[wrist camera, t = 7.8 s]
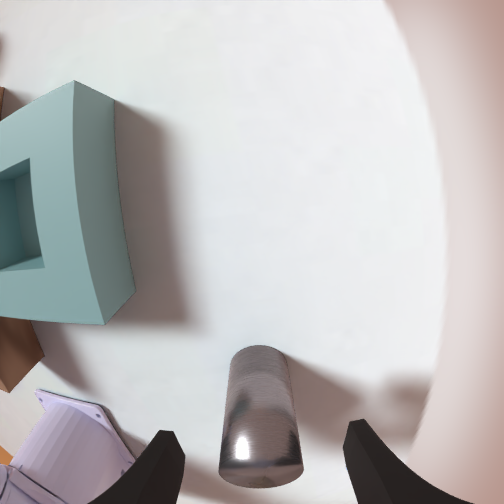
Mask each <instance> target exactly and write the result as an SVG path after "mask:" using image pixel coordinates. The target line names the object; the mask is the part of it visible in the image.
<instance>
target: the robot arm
mask: <svg viewBox="0 0 504 504" xmlns="http://www.w3.org/2000/svg"><path fill="white" fill-rule="evenodd" d="M34 393H35V395H36V397H37V398H38V400H39V402H40V403H41V405H42V406H43V408H44V409H45V413H44V414H43V415H42V417H41V418H40V419H39V421H38V422H37V424H36V425H35V426H34V428H33V429H32V431H31V432H30V434H29V435H28V436H27V438H26V439H25V441H24V442H23V444H22V445H21V447H20V448H19V450H18V451H17V453H16V454H15V456H14V457H13V459H12V461H11V462H10V464H9V465H8V466H6V465H3V464H2V465H1V464H0V504H176V502H177V498H178V494H179V490H180V486H181V482H182V478H183V473H184V464H185V454H184V452H183V450H182V448H181V446H180V444H179V442H178V440H177V438H176V436H175V434H174V432H173V431H165V430H159V431H158V432H157V434H156V435H155V437H154V438H153V439H152V441H151V442H150V443H149V445H148V446H147V447H146V449H145V450H144V451H143V453H142V454H141V455H140V456H139V457H138V459H137V460H135V459H134V457H133V456H132V455H131V453H130V452H129V450H128V449H127V448H126V446H125V445H124V443H123V442H122V440H121V439H120V437H119V436H118V434H117V432H116V431H115V429H114V428H113V426H112V424H111V423H110V421H109V420H108V418H107V416H106V414H105V413H104V411H103V409H102V408H101V407H100V406H98V405H96V404H91V403H87V402H82V401H78V400H74V399H70V398H66V397H62V396H59V395H55V394H52V393H48V392H45V391H42V390H39V389H36V390H35V392H34ZM343 451H344V457H345V462H346V467H347V470H348V473H349V476H350V480H351V483H352V486H353V489H354V492H355V495H356V498H357V501H358V504H473V503H470V502H467V501H464V500H461V499H459V498H456V497H454V496H452V495H449V494H448V493H446V492H444V491H442V490H440V489H438V488H436V487H434V486H433V485H431V484H429V483H428V482H427V481H425V480H424V479H422V478H421V477H420V476H418V475H417V474H416V473H414V472H413V471H412V470H411V469H410V468H408V467H407V466H406V465H405V464H404V463H403V462H402V461H401V460H400V459H399V458H398V457H397V456H396V455H395V454H394V453H393V452H392V451H391V450H390V449H389V448H388V447H387V446H386V445H385V444H384V443H383V441H382V440H381V439H380V438H379V437H378V436H377V434H376V433H375V432H374V431H373V429H372V428H371V427H370V426H369V424H368V423H367V422H366V420H365V419H360V420H356V421H351V422H349V426H348V430H347V434H346V438H345V441H344V445H343Z"/></svg>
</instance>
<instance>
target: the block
mask: <svg viewBox="0 0 504 504" xmlns="http://www.w3.org/2000/svg"><path fill="white" fill-rule="evenodd" d="M135 292H136V288H135V284H134V279H133V275H132V270H131V265H130V260H129V255H128V249H127V244H126V238H125V232H124V225H123V219H122V212H121V204H120V196H119V187H118V177H117V165H116V150H115V128H114V99H112V98H110V97H108V96H106V95H104V94H102V93H100V92H98V91H96V90H94V89H92V88H90V87H88V86H86V85H84V84H81V83H79V82H77V81H75V80H74V81H72V82H70V83H67V84H65V85H63V86H61V87H59V88H57V89H55V90H53V91H51V92H49V93H47V94H45V95H43V96H41V97H39V98H38V99H36V100H34V101H32V102H31V103H29V104H27V105H25V106H24V107H22V108H20V109H19V110H17V111H16V112H14V113H12V114H11V115H9V116H8V117H6V118H5V119H3V120H2V121H0V316H3V317H10V318H19V319H28V320H38V321H49V322H62V323H77V324H97V325H105V324H106V323H107V322H108V321H109V320H110V319H111V317H112V316H113V315H114V314H115V313H116V312H117V311H118V310H119V309H120V308H121V307H122V306H123V304H124V303H125V302H126V301H127V300H128V299H129V298H130V297H131V296H132V295H133V294H134V293H135Z"/></svg>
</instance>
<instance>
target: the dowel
mask: <svg viewBox="0 0 504 504" xmlns="http://www.w3.org/2000/svg"><path fill="white" fill-rule="evenodd" d="M303 470H304V467H303V460H302V454H301V447H300V441H299V434H298V428H297V422H296V415H295V409H294V403H293V397H292V391H291V385H290V379H289V373H288V367H287V362H286V359H285V357H284V356H283V354H282V353H281V352H279V351H278V350H276V349H274V348H272V347H269V346H263V345H255V346H250V347H246V348H244V349H242V350H240V351H239V352H238V353H236V354H235V355H234V357H233V358H232V360H231V363H230V371H229V380H228V389H227V398H226V407H225V416H224V425H223V434H222V443H221V452H220V462H219V475H220V476H221V477H222V478H223V479H224V480H226V481H227V482H229V483H231V484H234V485H237V486H241V487H247V488H271V487H277V486H281V485H285V484H288V483H290V482H292V481H294V480H296V479H297V478H298V477H300V476H301V474H302V473H303Z"/></svg>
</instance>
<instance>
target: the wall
mask: <svg viewBox="0 0 504 504" xmlns="http://www.w3.org/2000/svg"><path fill="white" fill-rule="evenodd" d="M3 93H4V87H0V121H1V109H2V100H3ZM43 357H44V354H43V351H42V349H41V347H40V345H39V342H38V340H37V338H36V335H35V333H34V330H33V328H32V325H31V322H30V320H28V319H19V318H10V317H3V316H0V389H1V390H3V391H5V392H7V393H10V392H11V391H12V390H13V389H14V387H15V386H16V385H17V384H18V383H19V382H20V381H21V380H22V379H23V378H24V377H25V375H26V374H27V373H28V372H29V371H30V370H31V369H32V368H33V367H34V366H35V365H36V364H37V363H38V362H39V361H40V360H41V359H42V358H43Z"/></svg>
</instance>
